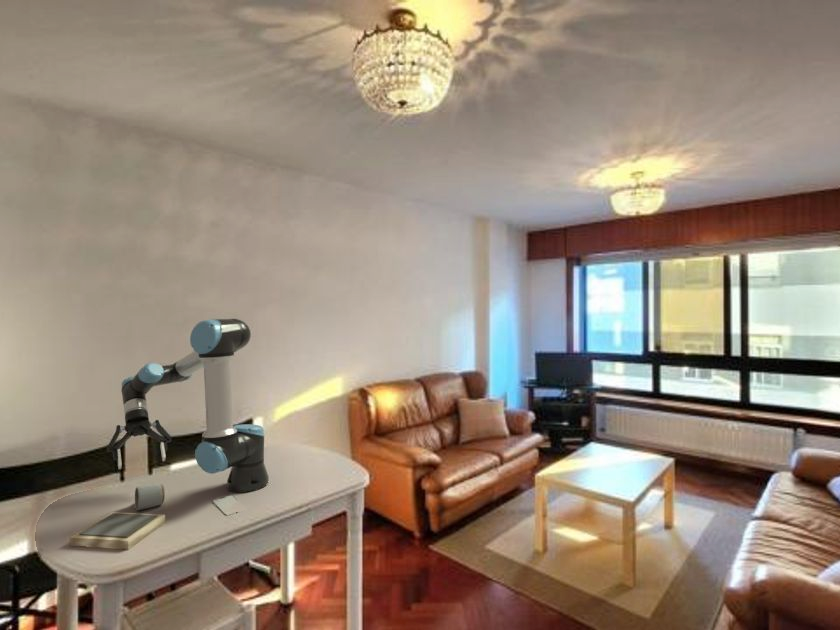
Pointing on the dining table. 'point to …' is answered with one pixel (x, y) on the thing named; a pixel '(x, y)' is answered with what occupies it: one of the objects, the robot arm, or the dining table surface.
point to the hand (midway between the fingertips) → (142, 463)
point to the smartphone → (225, 503)
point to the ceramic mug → (149, 496)
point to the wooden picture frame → (118, 530)
